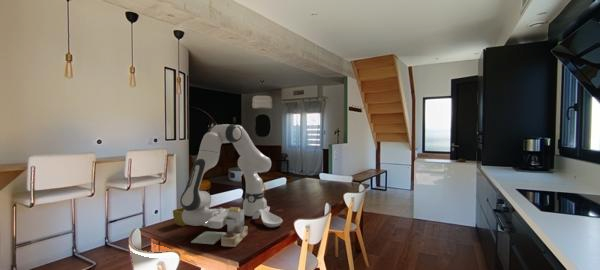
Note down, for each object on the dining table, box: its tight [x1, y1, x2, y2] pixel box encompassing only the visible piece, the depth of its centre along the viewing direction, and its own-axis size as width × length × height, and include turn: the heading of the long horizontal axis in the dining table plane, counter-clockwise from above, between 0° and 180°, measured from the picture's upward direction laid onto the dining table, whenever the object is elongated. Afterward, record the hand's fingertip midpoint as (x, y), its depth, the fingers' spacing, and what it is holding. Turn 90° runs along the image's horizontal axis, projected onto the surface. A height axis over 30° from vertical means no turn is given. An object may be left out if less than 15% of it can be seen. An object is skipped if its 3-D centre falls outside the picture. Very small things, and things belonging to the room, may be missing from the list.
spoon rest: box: [252, 209, 283, 228], centre depth 164 cm, size 24×12×7 cm, turn 44°
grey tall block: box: [226, 206, 245, 232], centre depth 141 cm, size 5×7×11 cm
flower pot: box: [172, 207, 188, 227], centre depth 162 cm, size 9×9×9 cm
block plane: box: [220, 225, 249, 248], centre depth 140 cm, size 17×7×6 cm, turn 170°
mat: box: [190, 230, 227, 245], centre depth 142 cm, size 14×12×1 cm
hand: (237, 219), depth 141 cm, fingers closed on grey tall block, 5 cm apart
